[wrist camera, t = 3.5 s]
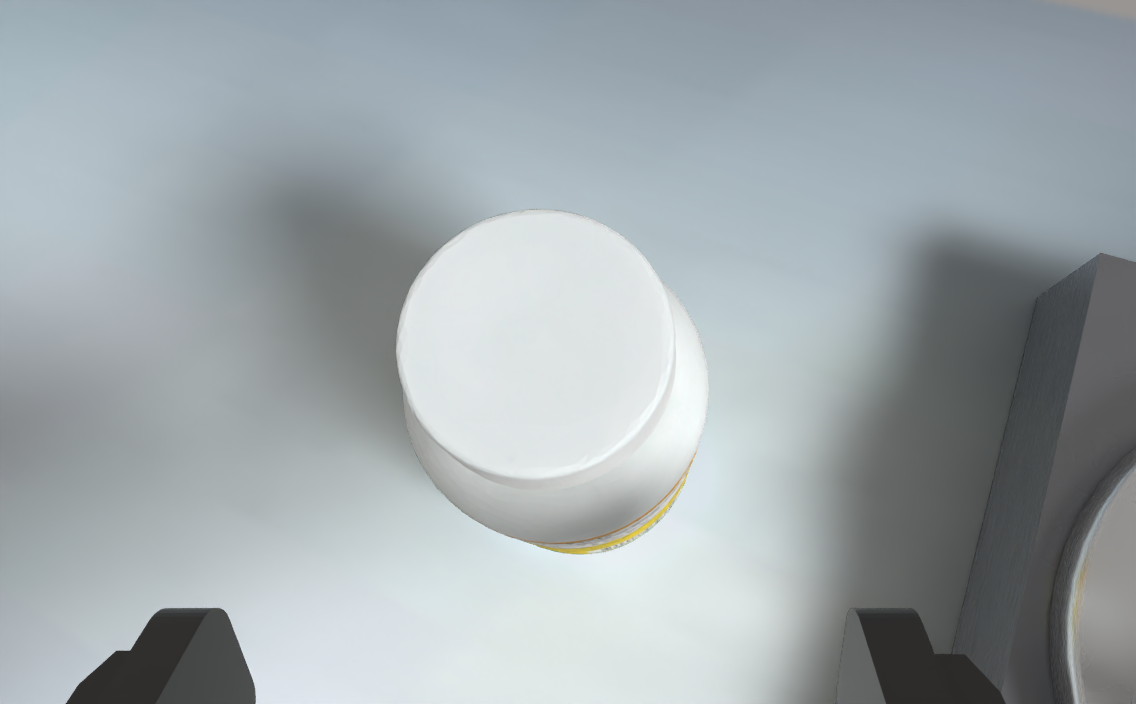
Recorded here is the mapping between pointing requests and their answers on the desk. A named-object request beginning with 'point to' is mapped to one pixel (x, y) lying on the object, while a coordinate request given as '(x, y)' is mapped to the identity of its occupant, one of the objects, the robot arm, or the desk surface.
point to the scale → (1064, 506)
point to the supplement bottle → (551, 381)
